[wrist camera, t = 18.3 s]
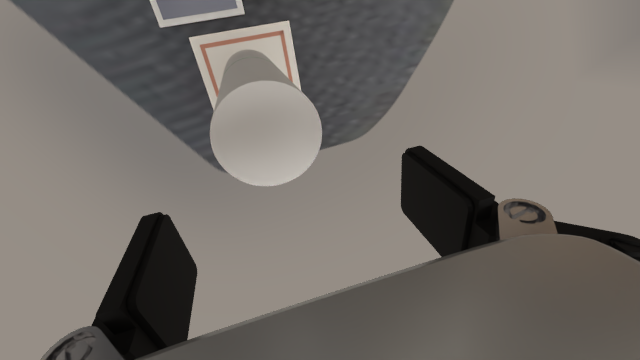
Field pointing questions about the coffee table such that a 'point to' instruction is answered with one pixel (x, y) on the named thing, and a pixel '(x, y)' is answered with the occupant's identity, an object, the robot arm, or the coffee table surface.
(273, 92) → the cylindrical container
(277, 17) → the coffee table surface
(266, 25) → the marked paper
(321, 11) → the coffee table surface
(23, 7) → the coffee table surface
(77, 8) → the coffee table surface
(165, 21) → the ink pad
